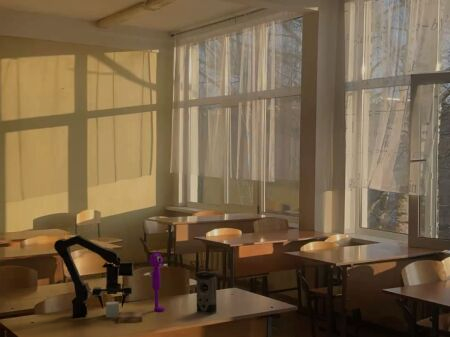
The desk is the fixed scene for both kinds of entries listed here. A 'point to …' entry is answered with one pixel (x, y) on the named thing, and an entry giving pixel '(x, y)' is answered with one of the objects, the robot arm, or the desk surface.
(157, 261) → the toy
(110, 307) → the cube
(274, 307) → the desk surface
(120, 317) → the walnut block
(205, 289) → the electronic device
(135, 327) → the desk surface
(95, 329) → the desk surface
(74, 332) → the desk surface
